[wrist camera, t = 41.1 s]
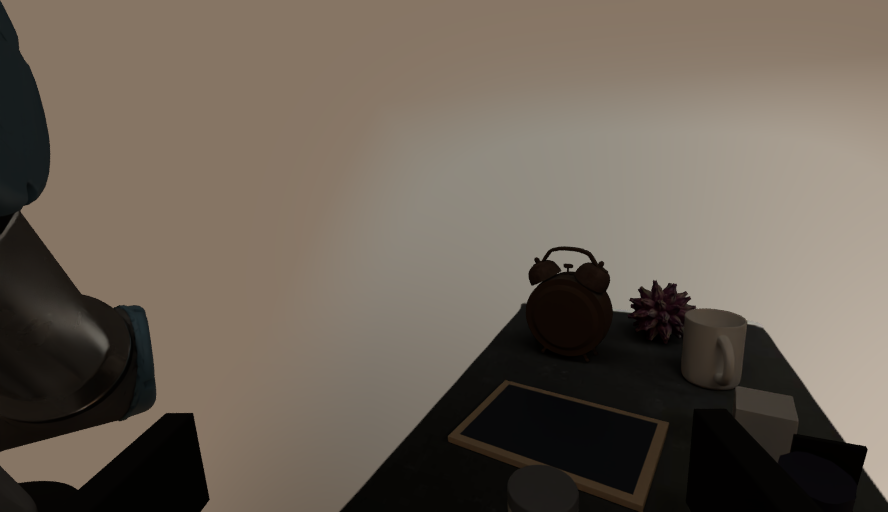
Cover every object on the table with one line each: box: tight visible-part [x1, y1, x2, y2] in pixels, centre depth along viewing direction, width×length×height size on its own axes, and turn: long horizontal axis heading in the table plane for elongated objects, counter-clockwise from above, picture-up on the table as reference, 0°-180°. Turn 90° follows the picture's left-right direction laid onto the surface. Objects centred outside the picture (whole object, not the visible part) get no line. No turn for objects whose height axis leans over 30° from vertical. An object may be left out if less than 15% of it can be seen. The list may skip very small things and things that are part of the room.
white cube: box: [732, 386, 799, 463], centre depth 57 cm, size 6×6×6 cm
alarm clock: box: [526, 247, 613, 362], centre depth 82 cm, size 15×7×20 cm, turn 57°
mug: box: [681, 309, 747, 390], centre depth 71 cm, size 12×8×10 cm
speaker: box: [778, 434, 867, 512], centre depth 43 cm, size 8×6×10 cm
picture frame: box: [448, 380, 669, 512], centre depth 61 cm, size 24×17×1 cm
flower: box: [628, 280, 696, 344], centre depth 88 cm, size 12×12×12 cm
